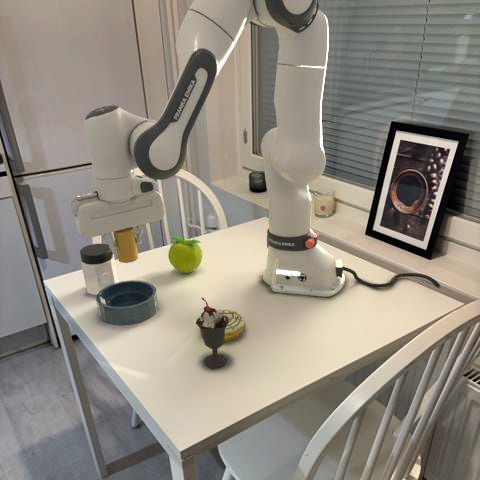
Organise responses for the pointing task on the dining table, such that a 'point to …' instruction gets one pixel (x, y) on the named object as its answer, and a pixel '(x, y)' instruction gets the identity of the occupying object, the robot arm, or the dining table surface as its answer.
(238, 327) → the decorated donut
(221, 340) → the sundae
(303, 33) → the robot arm
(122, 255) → the candle
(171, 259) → the fruit
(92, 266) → the jar
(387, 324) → the dining table surface
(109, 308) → the bowl
